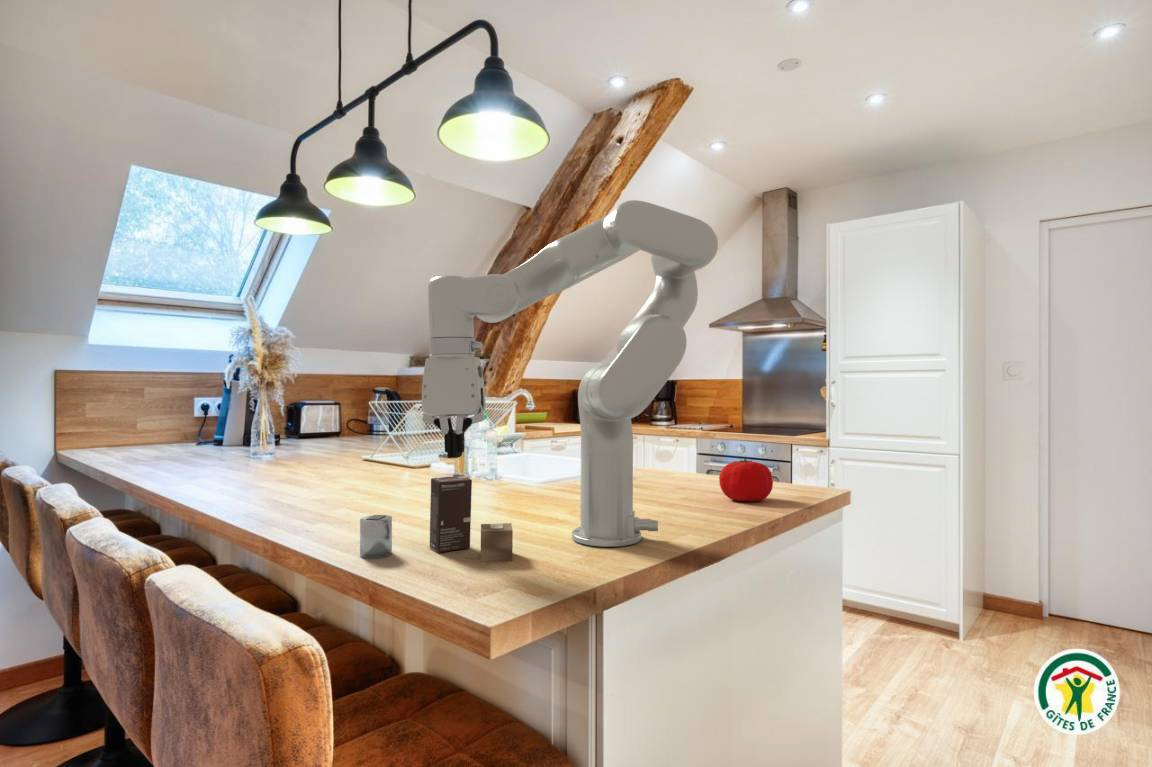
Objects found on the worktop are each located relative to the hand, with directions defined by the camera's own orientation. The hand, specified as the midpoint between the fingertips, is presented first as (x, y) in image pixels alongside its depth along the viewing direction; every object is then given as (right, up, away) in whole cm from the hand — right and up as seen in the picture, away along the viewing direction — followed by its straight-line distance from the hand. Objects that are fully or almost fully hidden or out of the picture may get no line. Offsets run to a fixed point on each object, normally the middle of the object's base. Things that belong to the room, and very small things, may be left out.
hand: (454, 456), depth 105 cm
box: (-1, -16, 0) cm, 16 cm away
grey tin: (-12, -16, -4) cm, 20 cm away
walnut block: (+8, -16, -5) cm, 18 cm away
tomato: (+62, -16, +44) cm, 78 cm away
